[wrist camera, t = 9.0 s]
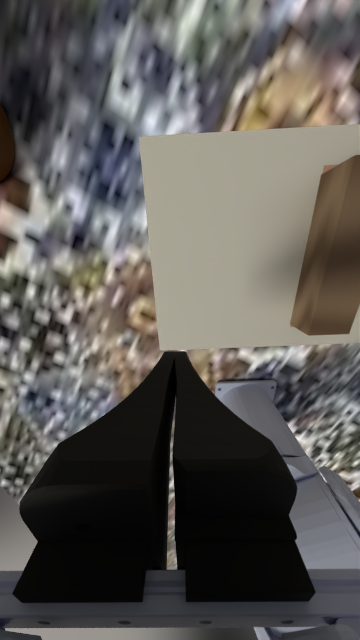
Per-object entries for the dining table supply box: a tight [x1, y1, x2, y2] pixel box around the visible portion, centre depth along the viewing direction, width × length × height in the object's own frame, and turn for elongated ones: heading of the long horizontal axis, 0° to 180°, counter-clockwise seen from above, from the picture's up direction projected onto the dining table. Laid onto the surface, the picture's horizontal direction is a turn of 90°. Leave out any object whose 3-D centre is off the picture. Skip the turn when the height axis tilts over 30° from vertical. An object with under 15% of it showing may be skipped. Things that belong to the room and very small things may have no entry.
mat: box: [139, 124, 360, 350], centre depth 17 cm, size 20×34×1 cm, turn 92°
